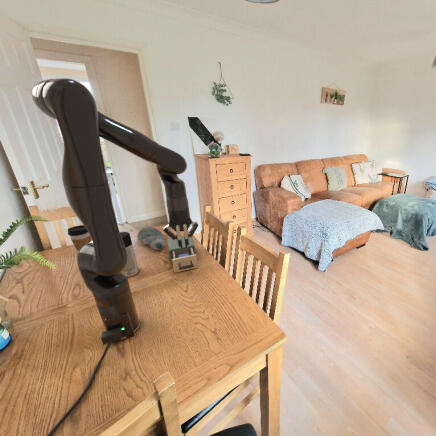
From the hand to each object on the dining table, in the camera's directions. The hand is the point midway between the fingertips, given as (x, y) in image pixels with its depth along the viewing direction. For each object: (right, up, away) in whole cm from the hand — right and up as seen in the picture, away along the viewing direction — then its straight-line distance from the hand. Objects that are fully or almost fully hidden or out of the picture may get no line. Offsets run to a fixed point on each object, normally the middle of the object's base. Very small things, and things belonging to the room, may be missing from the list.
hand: (184, 246), depth 98 cm
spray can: (-31, -14, +13) cm, 36 cm away
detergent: (-34, -3, +38) cm, 52 cm away
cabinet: (-13, -8, +28) cm, 32 cm away
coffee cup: (-63, -7, +26) cm, 69 cm away
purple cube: (-8, -10, +19) cm, 23 cm away
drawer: (-8, -12, +18) cm, 23 cm away
